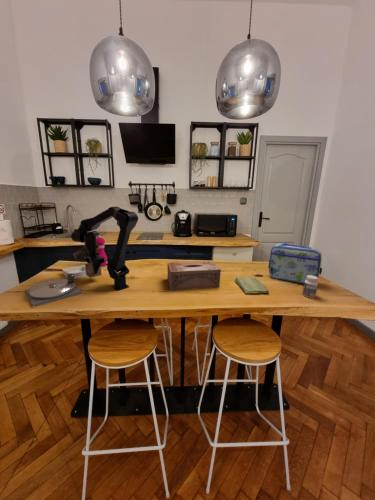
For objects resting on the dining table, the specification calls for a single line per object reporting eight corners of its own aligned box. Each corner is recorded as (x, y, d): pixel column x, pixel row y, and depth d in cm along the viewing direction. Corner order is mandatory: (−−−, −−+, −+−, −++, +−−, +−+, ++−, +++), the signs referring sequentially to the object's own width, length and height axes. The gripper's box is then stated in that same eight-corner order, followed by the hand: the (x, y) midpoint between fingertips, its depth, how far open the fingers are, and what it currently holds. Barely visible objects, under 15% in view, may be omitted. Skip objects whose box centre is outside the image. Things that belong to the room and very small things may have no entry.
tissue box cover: (170, 290, 106) (170, 271, 103) (167, 279, 120) (167, 262, 117) (219, 287, 111) (220, 269, 108) (211, 277, 125) (212, 260, 122)
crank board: (81, 293, 100) (81, 290, 100) (33, 307, 87) (32, 304, 87) (69, 281, 113) (69, 278, 113) (25, 291, 100) (25, 288, 100)
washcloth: (245, 295, 103) (246, 289, 102) (233, 281, 120) (233, 275, 119) (270, 295, 105) (271, 289, 104) (255, 280, 122) (256, 275, 121)
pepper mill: (103, 267, 134) (101, 236, 129) (93, 266, 136) (90, 236, 130) (109, 264, 141) (107, 234, 136) (100, 263, 142) (97, 233, 137)
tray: (92, 275, 122) (91, 270, 121) (69, 280, 114) (68, 275, 113) (84, 269, 130) (84, 264, 129) (63, 274, 122) (62, 269, 121)
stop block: (101, 275, 113) (100, 264, 112) (90, 277, 109) (88, 266, 108) (97, 272, 117) (96, 261, 116) (85, 274, 113) (84, 264, 112)
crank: (33, 303, 88) (31, 290, 86) (26, 288, 100) (24, 277, 99) (81, 290, 100) (79, 279, 98) (69, 279, 112) (68, 268, 111)
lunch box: (265, 277, 126) (270, 243, 120) (269, 272, 134) (274, 240, 129) (316, 289, 112) (323, 250, 106) (317, 282, 121) (324, 246, 115)
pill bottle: (303, 291, 108) (307, 273, 105) (316, 295, 104) (320, 276, 102) (301, 295, 104) (304, 277, 101) (314, 299, 100) (318, 280, 98)
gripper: (68, 242, 110) (71, 270, 114) (80, 249, 97) (83, 281, 101) (90, 239, 117) (92, 266, 122) (104, 246, 105) (106, 275, 109)
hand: (93, 272), depth 113 cm, fingers closed on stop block, 6 cm apart
